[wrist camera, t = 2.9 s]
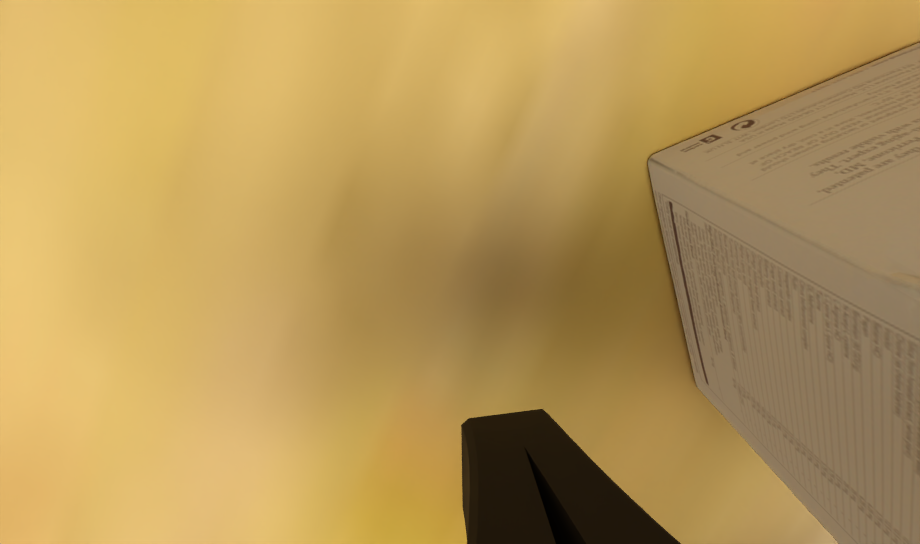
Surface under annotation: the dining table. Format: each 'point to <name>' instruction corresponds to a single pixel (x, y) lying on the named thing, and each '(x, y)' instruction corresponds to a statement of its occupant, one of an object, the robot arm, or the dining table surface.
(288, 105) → the dining table surface
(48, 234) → the dining table surface
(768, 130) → the supplement box
